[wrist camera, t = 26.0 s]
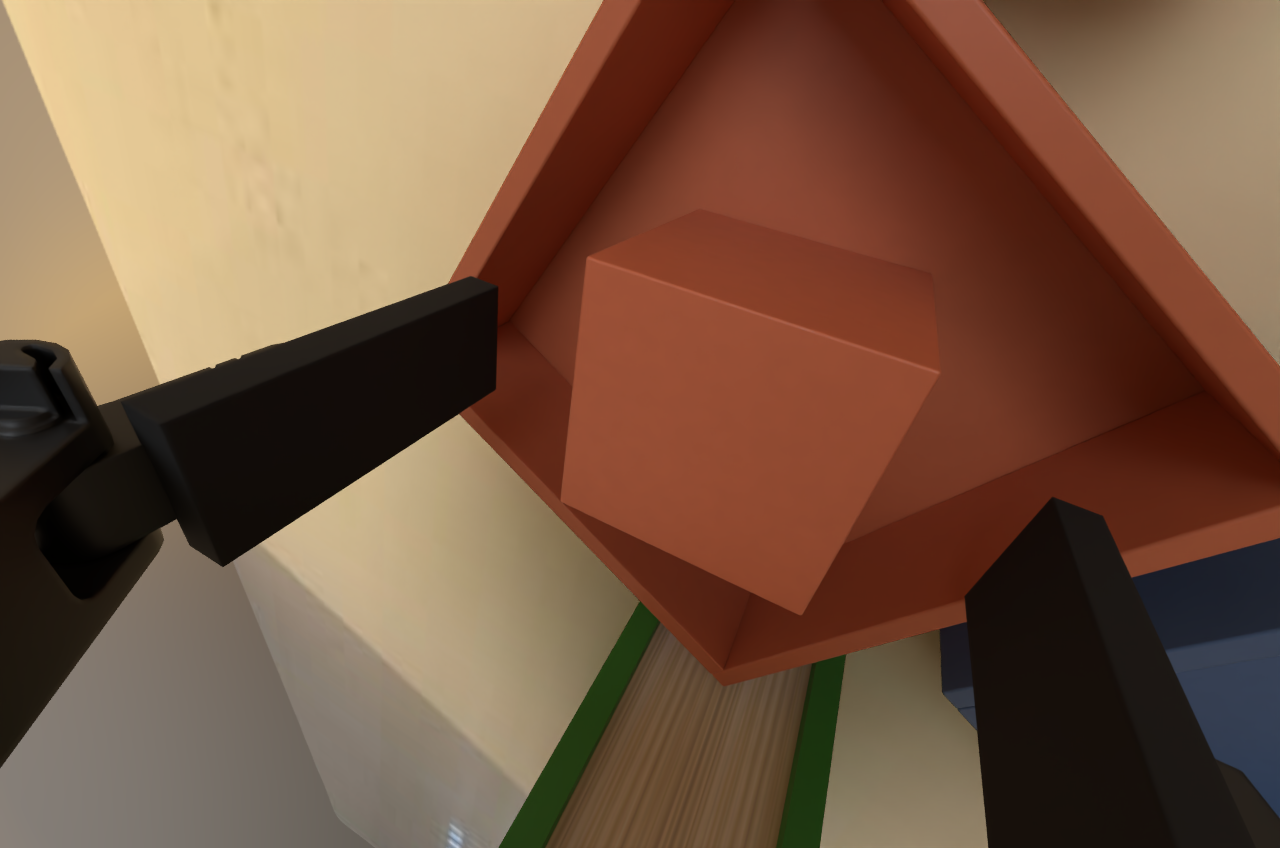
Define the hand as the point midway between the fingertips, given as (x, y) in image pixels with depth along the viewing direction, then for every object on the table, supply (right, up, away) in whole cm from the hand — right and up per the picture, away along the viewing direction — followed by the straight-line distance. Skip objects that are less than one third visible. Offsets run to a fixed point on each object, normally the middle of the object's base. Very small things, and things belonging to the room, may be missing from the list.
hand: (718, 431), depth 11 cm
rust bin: (+2, +3, +4) cm, 6 cm away
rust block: (+2, +2, +4) cm, 5 cm away
